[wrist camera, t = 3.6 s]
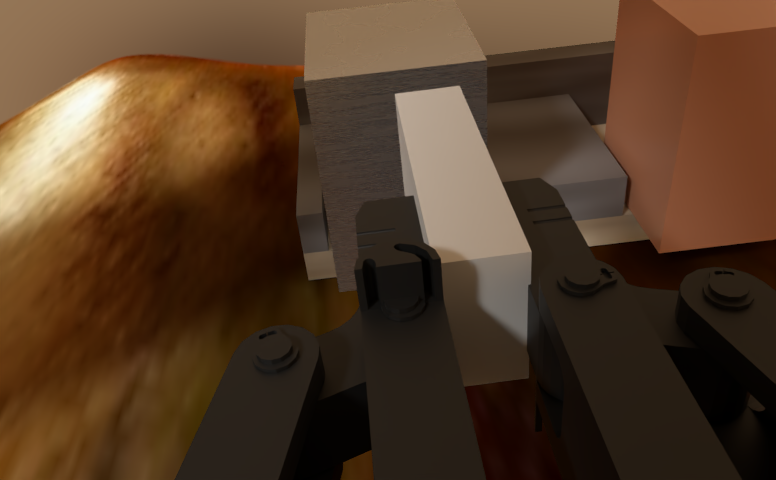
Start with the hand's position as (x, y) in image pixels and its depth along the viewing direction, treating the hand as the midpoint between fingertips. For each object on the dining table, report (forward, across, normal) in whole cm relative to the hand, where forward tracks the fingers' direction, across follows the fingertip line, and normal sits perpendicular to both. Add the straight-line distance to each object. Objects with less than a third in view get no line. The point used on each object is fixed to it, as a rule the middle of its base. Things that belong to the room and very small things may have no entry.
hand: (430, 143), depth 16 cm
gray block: (+11, 0, -10) cm, 14 cm away
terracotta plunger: (+11, +13, -10) cm, 19 cm away
